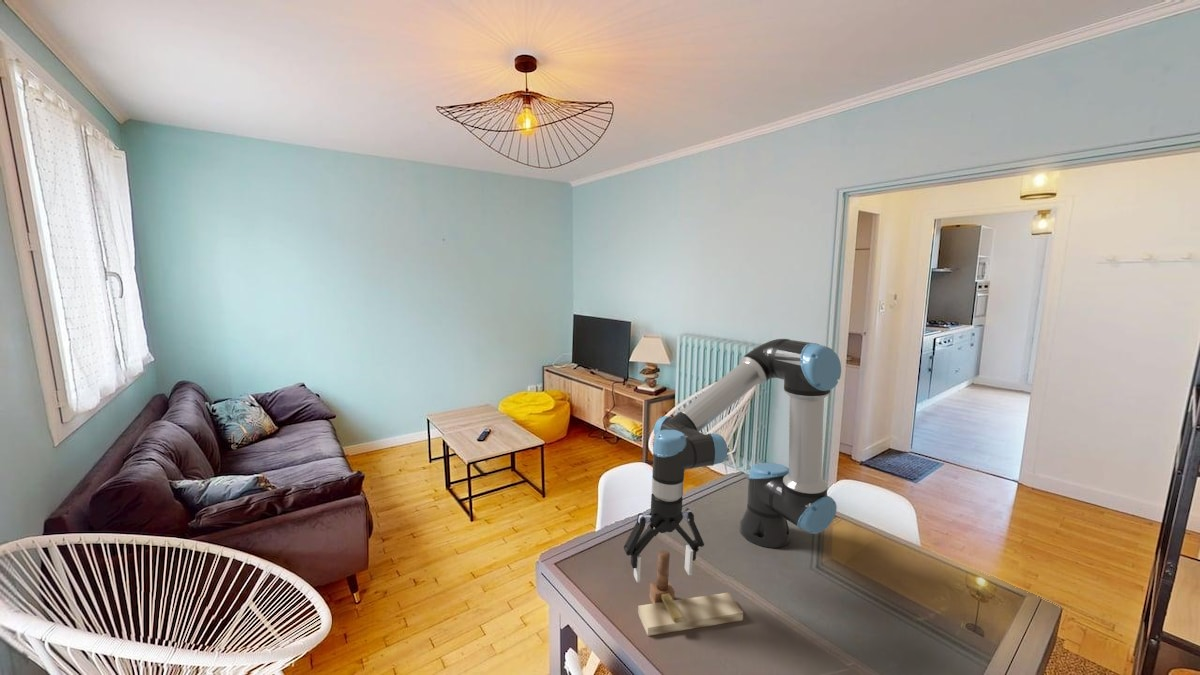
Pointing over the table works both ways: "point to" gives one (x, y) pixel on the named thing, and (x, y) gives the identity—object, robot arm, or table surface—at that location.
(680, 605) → the board
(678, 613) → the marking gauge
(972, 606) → the table surface
